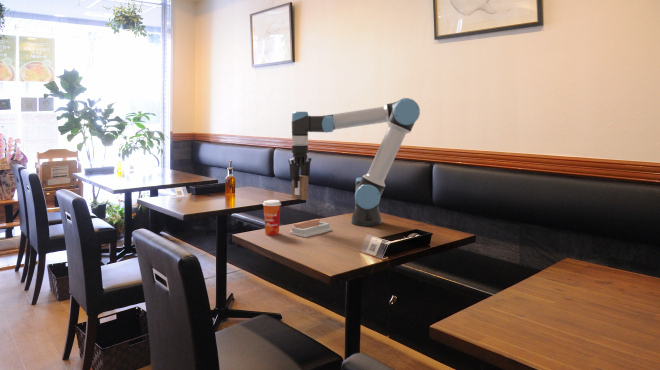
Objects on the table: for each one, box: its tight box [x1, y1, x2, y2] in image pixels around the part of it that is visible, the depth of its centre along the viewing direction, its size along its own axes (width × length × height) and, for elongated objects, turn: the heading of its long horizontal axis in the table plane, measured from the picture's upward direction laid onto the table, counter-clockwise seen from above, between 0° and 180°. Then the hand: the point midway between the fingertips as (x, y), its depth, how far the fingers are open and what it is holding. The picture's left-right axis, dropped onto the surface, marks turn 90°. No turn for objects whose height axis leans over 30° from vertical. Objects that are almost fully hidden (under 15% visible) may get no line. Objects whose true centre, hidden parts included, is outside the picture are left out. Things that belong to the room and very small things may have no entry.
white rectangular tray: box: [289, 218, 333, 238], centre depth 224 cm, size 18×10×4 cm, turn 139°
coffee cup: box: [262, 199, 282, 236], centre depth 218 cm, size 8×8×15 cm
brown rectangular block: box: [291, 174, 309, 201], centre depth 230 cm, size 8×3×11 cm, turn 49°
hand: (300, 194), depth 231 cm, fingers closed on brown rectangular block, 3 cm apart
